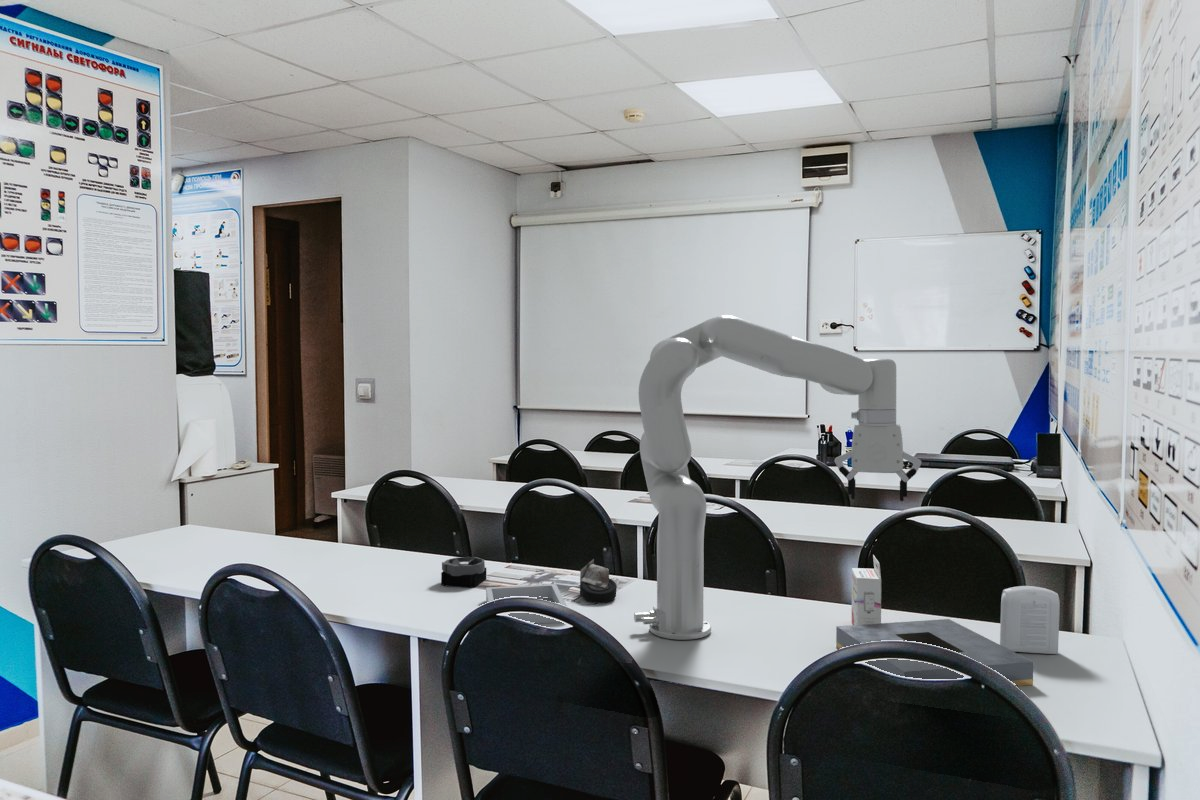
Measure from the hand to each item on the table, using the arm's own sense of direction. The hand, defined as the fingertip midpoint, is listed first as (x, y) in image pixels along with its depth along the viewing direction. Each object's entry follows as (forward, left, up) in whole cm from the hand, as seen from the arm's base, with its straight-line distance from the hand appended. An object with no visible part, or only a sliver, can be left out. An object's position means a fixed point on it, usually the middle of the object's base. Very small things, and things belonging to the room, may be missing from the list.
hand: (877, 499), depth 173 cm
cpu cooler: (-85, +50, -27) cm, 102 cm away
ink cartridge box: (-4, -3, -27) cm, 27 cm away
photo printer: (+20, -21, -27) cm, 39 cm away
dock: (-3, -24, -26) cm, 36 cm away
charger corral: (-72, +23, -26) cm, 80 cm away
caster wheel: (-54, +31, -27) cm, 68 cm away
